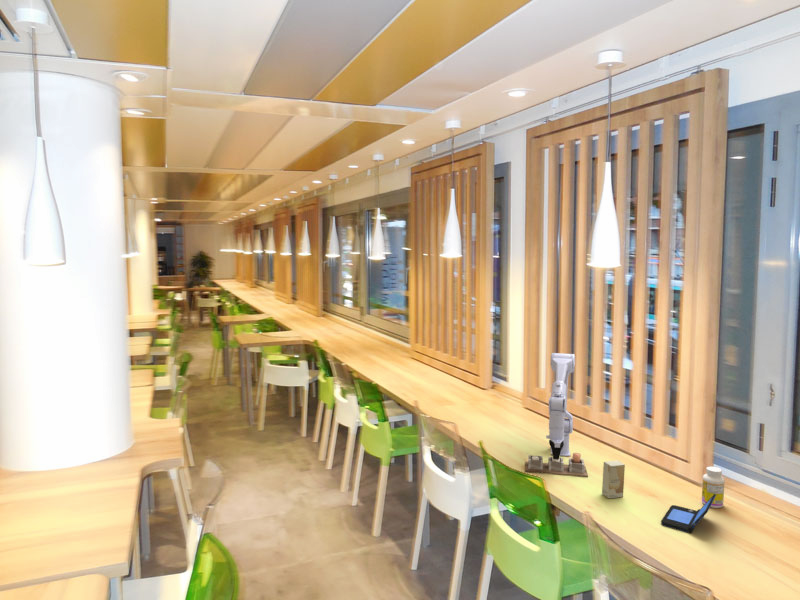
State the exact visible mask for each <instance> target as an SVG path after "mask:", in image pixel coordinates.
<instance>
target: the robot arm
mask: <svg viewBox="0 0 800 600" xmlns="http://www.w3.org/2000/svg"><path fill="white" fill-rule="evenodd" d="M575 355H576V354H574V353H562V352H561V353H558V352H552V353H551V355H550V366H551V370H552V371H553V372H555V381H554V382H553V383H552V386H551V393H550V397H548V415H549V420H548V430H549V431H548V433H549V434H547V435H545V438H546V439H549V440H548V443H549V446H550V447H549V449H550V454H551V456H552V457H553V459H557V460H559V458H561V457H560V456H562V457H571V452H570V434H572V433H573V429H574V420H573V418H574V417H573V414H571V413H570V412H569V411H568V410H567V409H568V408H567V407H568V386H569V385H568V383H569V376H570V374H572V373H574V371H575V366H576V365H575V364H576V356H575Z"/></svg>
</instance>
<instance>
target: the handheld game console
mask: <svg viewBox="0 0 800 600" xmlns="http://www.w3.org/2000/svg"><path fill="white" fill-rule="evenodd" d="M715 496H716V494H714V495H713V496H712V497H711V498H710V499H709V500H708V501H707V503H706V504H705V505H704V504H703V506H701V508H700V509H699V508H698V509H697V510H694V509H691V508H686V507H683V506H679V505H675V504H673V505H671V506H670V507H669V509H668V510H667V511H666V513H665V514H664V516H663V517H662V519H661V520H660V523H661V525H662V526H664V527H668V528H671V529H674V530H677V529H678V530H677V531H682V532H685V533H689V534H692V533H693V532H694V531H693V530H694V529H695V527H696V525H697V524H698V523H699V522H700V521H701V520H702V519H703V518H704V517H705V516H706V514H708V513H709V510H710V508H711V507H710V506H711V504H712V502H713V500H714V498H715Z"/></svg>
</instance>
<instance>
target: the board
mask: <svg viewBox="0 0 800 600" xmlns="http://www.w3.org/2000/svg"><path fill="white" fill-rule="evenodd" d="M533 456H534V455H530V454H529V455H528V461H527V460H526V461H524V463H525V471H524V472H525V473H534V474H542V475H543V474H545V475H546V474H547V475H557V476H567V477H568V476H569V477H582V478H589V474H588V471H587V466H586V465H585V461H584V459H583V458H581V459H580V463H573V457H571V458H568V464H564V457H559V459H560V462H555V461H552V458H553V456H548V462H544V458H543V455H536V456H537V457H539V460H532V457H533Z"/></svg>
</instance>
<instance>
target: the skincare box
mask: <svg viewBox="0 0 800 600" xmlns="http://www.w3.org/2000/svg"><path fill="white" fill-rule="evenodd" d="M602 465H603V467H602V469H603V470H602V486H601V494H602V495H603V496H605V498H608V499H617V498H623V497H624V489H625V485H624V484H625V470H626V469H625V467H626V466H625V465H626V464H624V463H623V462H621V461H619V460H610V461H603V464H602Z"/></svg>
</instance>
